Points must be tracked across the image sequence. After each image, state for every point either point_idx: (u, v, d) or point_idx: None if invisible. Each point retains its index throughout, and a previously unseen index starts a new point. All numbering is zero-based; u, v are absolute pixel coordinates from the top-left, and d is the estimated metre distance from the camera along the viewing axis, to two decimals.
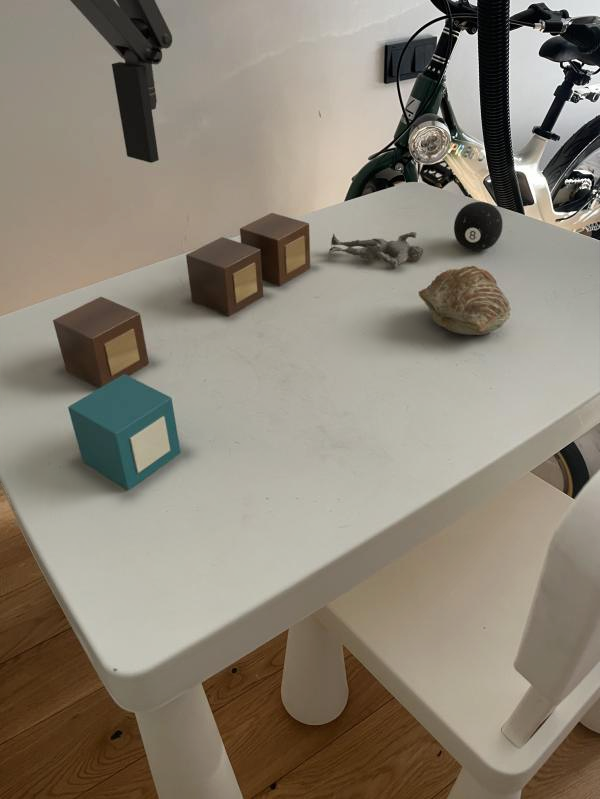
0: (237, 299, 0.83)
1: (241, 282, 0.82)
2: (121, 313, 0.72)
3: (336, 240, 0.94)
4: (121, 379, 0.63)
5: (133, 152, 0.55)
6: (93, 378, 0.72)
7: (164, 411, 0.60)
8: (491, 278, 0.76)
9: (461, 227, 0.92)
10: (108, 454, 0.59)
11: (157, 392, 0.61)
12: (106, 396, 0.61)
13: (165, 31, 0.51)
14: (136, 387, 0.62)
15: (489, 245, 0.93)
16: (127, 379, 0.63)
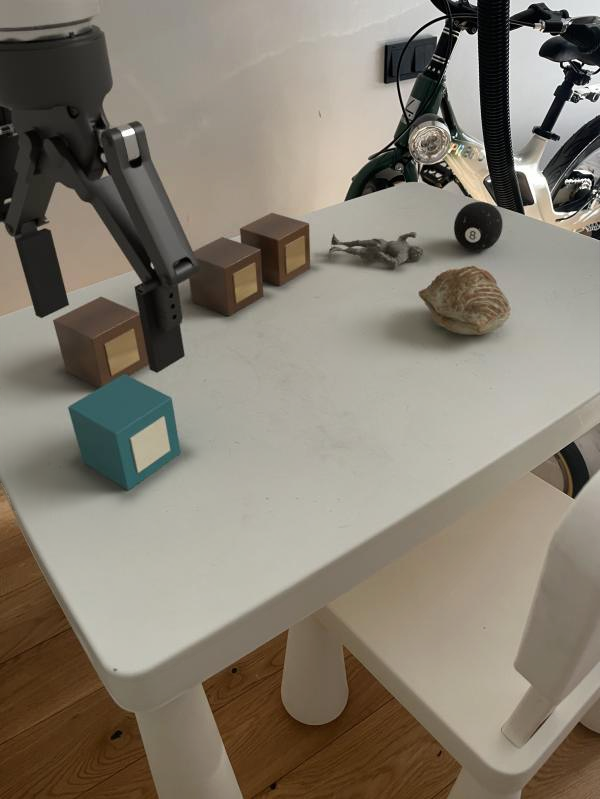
0: (237, 299, 0.83)
1: (241, 282, 0.82)
2: (121, 313, 0.72)
3: (336, 240, 0.94)
4: (121, 379, 0.63)
5: (48, 309, 0.59)
6: (93, 378, 0.72)
7: (164, 411, 0.60)
8: (491, 278, 0.76)
9: (461, 227, 0.92)
10: (108, 454, 0.59)
11: (157, 392, 0.61)
12: (106, 396, 0.61)
13: None
14: (136, 387, 0.62)
15: (489, 245, 0.93)
16: (127, 379, 0.63)
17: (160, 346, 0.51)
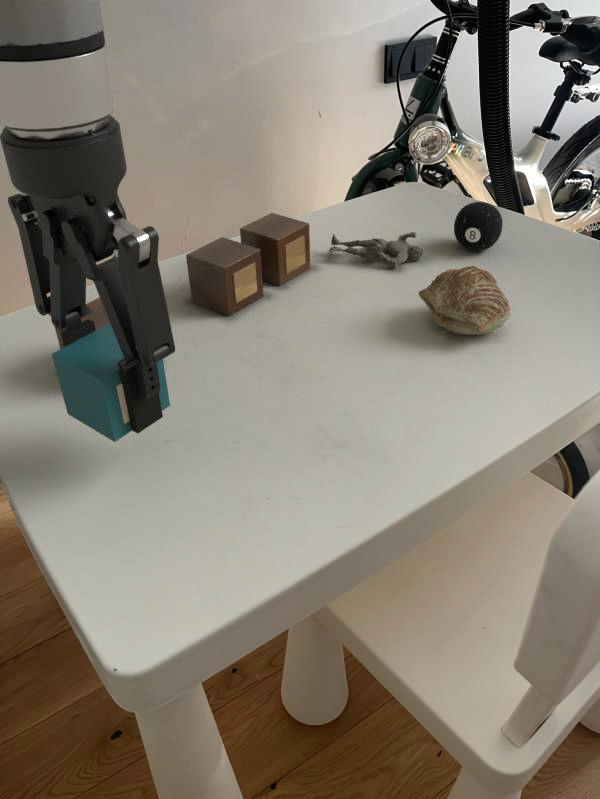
0: (237, 299, 0.83)
1: (241, 282, 0.82)
2: None
3: (336, 240, 0.94)
4: (108, 328, 0.60)
5: None
6: None
7: None
8: (491, 278, 0.76)
9: (461, 227, 0.92)
10: (94, 403, 0.57)
11: None
12: (92, 343, 0.58)
13: None
14: None
15: (489, 245, 0.93)
16: None
17: (140, 411, 0.57)
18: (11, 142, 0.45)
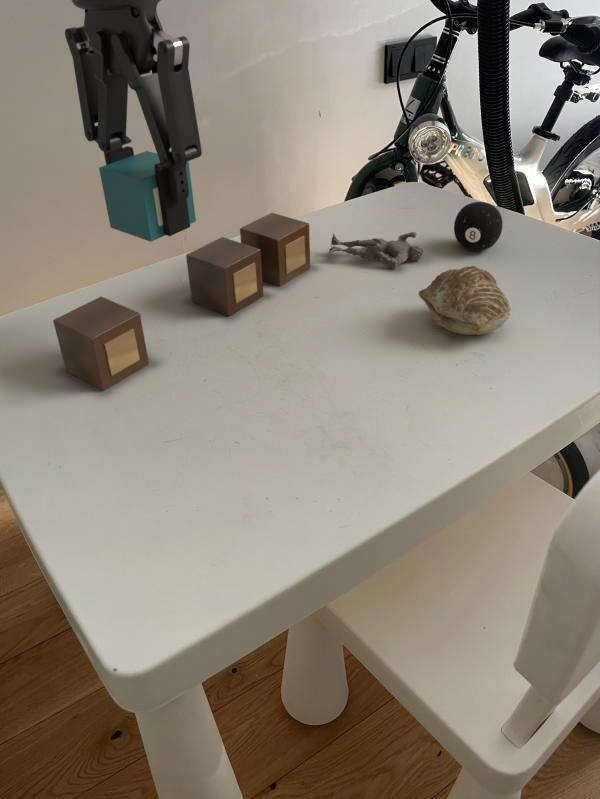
0: (237, 299, 0.83)
1: (241, 282, 0.82)
2: (121, 313, 0.72)
3: (336, 240, 0.94)
4: (144, 153, 0.72)
5: None
6: (93, 378, 0.72)
7: None
8: (491, 278, 0.76)
9: (461, 227, 0.92)
10: (134, 206, 0.68)
11: None
12: (131, 162, 0.70)
13: None
14: (157, 156, 0.71)
15: (489, 245, 0.93)
16: (150, 153, 0.72)
17: (172, 215, 0.69)
18: None
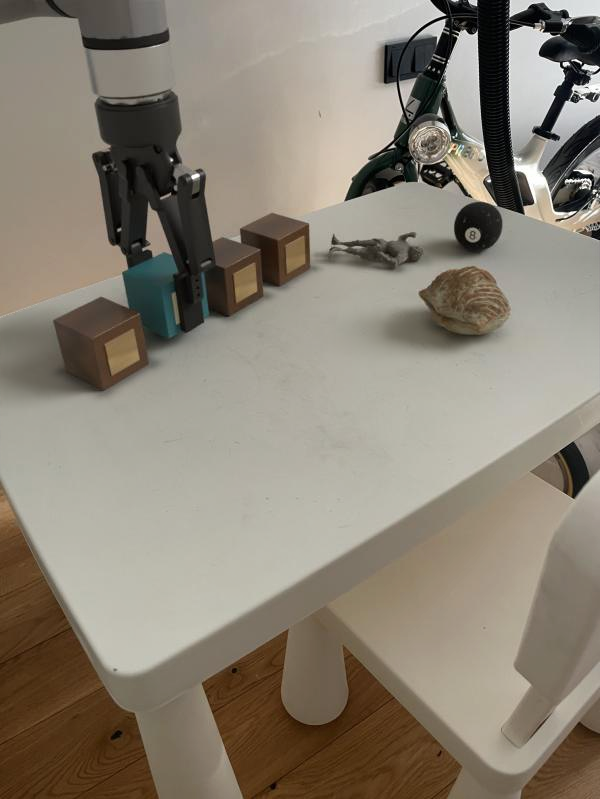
0: (237, 299, 0.83)
1: (241, 282, 0.82)
2: (121, 313, 0.72)
3: (336, 240, 0.94)
4: (162, 255, 0.79)
5: None
6: (93, 378, 0.72)
7: None
8: (491, 278, 0.76)
9: (461, 227, 0.92)
10: (154, 308, 0.76)
11: None
12: (151, 265, 0.77)
13: None
14: None
15: (489, 245, 0.93)
16: (167, 255, 0.79)
17: (188, 314, 0.76)
18: (104, 107, 0.64)
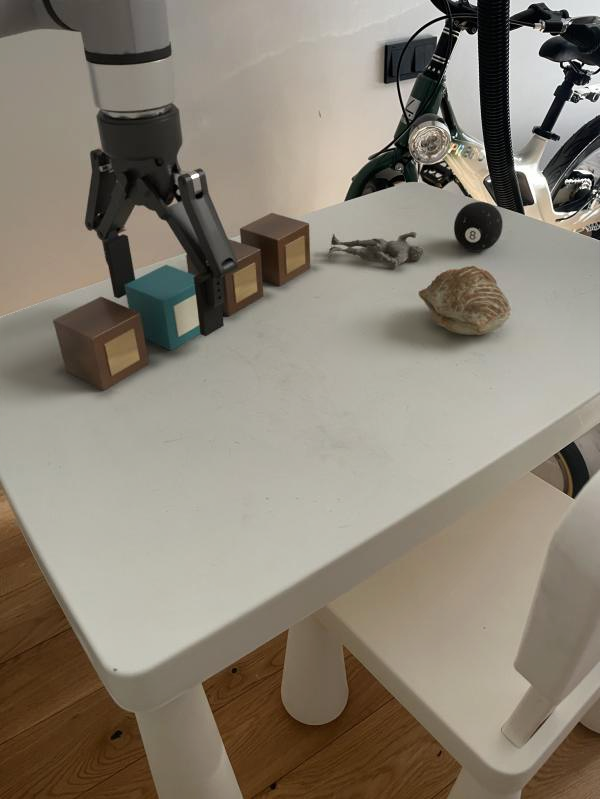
0: (237, 299, 0.83)
1: (241, 282, 0.82)
2: (121, 313, 0.72)
3: (336, 240, 0.94)
4: (164, 268, 0.80)
5: (123, 292, 0.82)
6: (93, 378, 0.72)
7: None
8: (491, 278, 0.76)
9: (461, 227, 0.92)
10: (156, 321, 0.77)
11: (193, 275, 0.78)
12: (153, 278, 0.78)
13: None
14: (176, 272, 0.79)
15: (489, 245, 0.93)
16: (169, 268, 0.80)
17: (208, 318, 0.74)
18: (106, 120, 0.65)
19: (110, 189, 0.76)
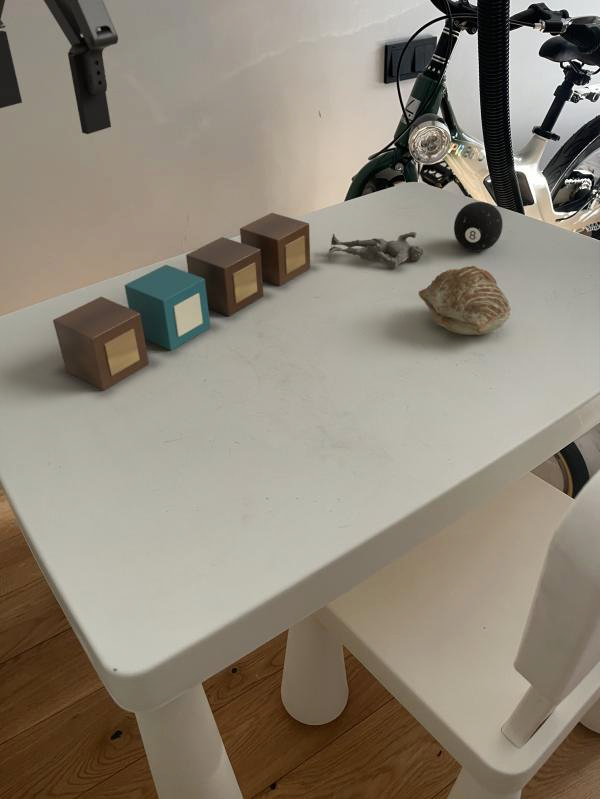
0: (237, 299, 0.83)
1: (241, 282, 0.82)
2: (121, 313, 0.72)
3: (336, 240, 0.94)
4: (164, 268, 0.80)
5: (4, 102, 0.72)
6: (93, 378, 0.72)
7: (199, 289, 0.78)
8: (491, 278, 0.76)
9: (461, 227, 0.92)
10: (156, 321, 0.77)
11: (193, 275, 0.78)
12: (153, 278, 0.78)
13: None
14: (176, 272, 0.79)
15: (489, 245, 0.93)
16: (169, 268, 0.80)
17: (89, 111, 0.65)
18: None
19: None
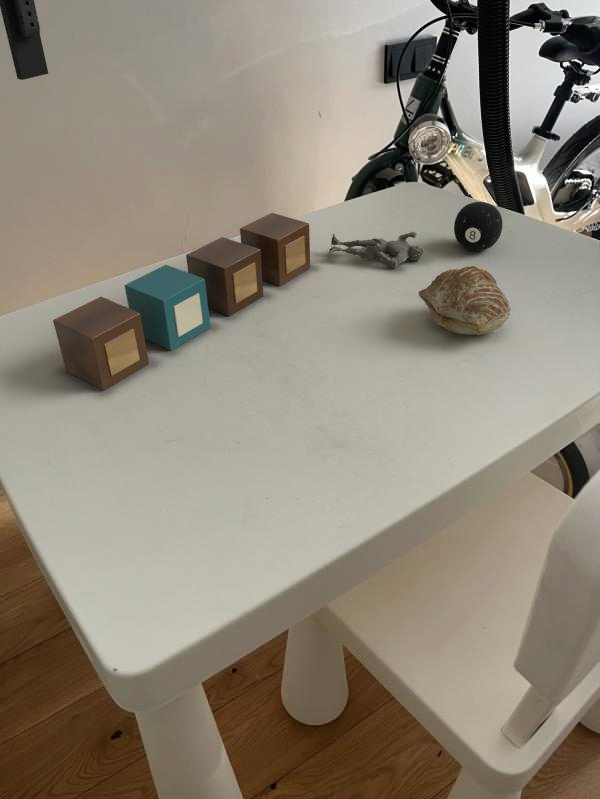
0: (237, 299, 0.83)
1: (241, 282, 0.82)
2: (121, 313, 0.72)
3: (336, 240, 0.94)
4: (164, 268, 0.80)
5: None
6: (93, 378, 0.72)
7: (199, 289, 0.78)
8: (491, 278, 0.76)
9: (461, 227, 0.92)
10: (156, 321, 0.77)
11: (193, 275, 0.78)
12: (153, 278, 0.78)
13: None
14: (176, 272, 0.79)
15: (489, 245, 0.93)
16: (169, 268, 0.80)
17: (23, 55, 0.63)
18: None
19: None
